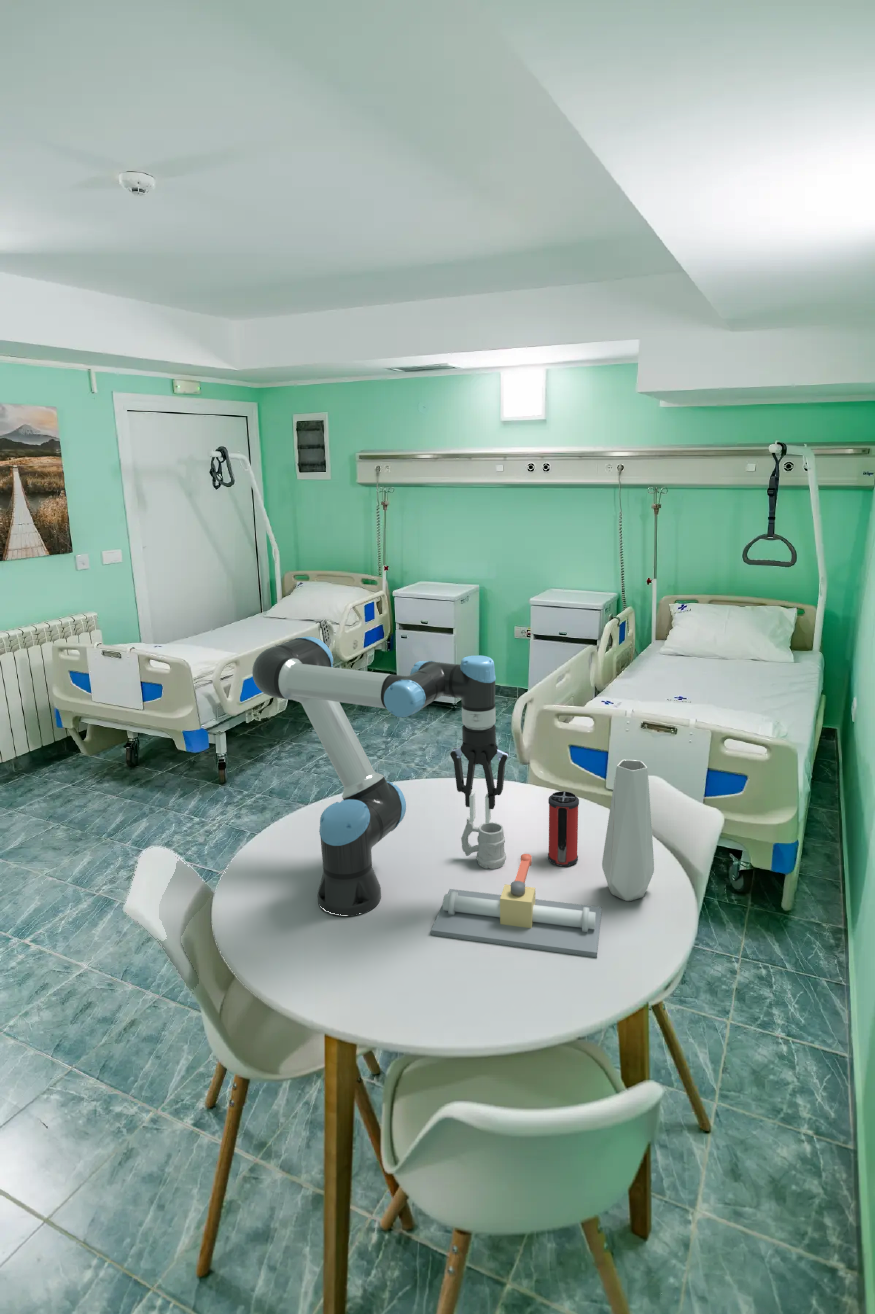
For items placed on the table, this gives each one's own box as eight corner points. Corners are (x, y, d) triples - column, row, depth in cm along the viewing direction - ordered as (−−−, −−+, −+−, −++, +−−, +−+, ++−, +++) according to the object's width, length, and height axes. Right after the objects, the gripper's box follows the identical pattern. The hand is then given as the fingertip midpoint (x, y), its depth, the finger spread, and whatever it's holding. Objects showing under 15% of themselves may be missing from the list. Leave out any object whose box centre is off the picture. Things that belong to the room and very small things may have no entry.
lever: (523, 897, 166) (523, 889, 166) (509, 895, 167) (509, 887, 167) (533, 862, 181) (533, 854, 180) (520, 860, 182) (520, 853, 181)
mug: (503, 871, 192) (503, 828, 189) (458, 866, 195) (457, 824, 192) (508, 856, 199) (508, 814, 196) (464, 851, 202) (464, 810, 199)
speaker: (546, 865, 194) (547, 801, 189) (549, 851, 201) (549, 788, 197) (576, 868, 192) (578, 804, 187) (578, 853, 199) (579, 791, 195)
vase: (609, 874, 189) (613, 751, 181) (655, 885, 183) (662, 759, 175) (593, 898, 179) (596, 769, 171) (641, 911, 173) (647, 778, 165)
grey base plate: (431, 934, 167) (430, 904, 165) (449, 893, 183) (449, 865, 181) (596, 957, 158) (597, 925, 156) (601, 911, 174) (602, 882, 172)
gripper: (440, 728, 168) (443, 824, 174) (511, 732, 164) (511, 831, 170) (448, 717, 175) (450, 809, 181) (517, 721, 171) (517, 816, 177)
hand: (480, 819), depth 175 cm, fingers open, 3 cm apart
